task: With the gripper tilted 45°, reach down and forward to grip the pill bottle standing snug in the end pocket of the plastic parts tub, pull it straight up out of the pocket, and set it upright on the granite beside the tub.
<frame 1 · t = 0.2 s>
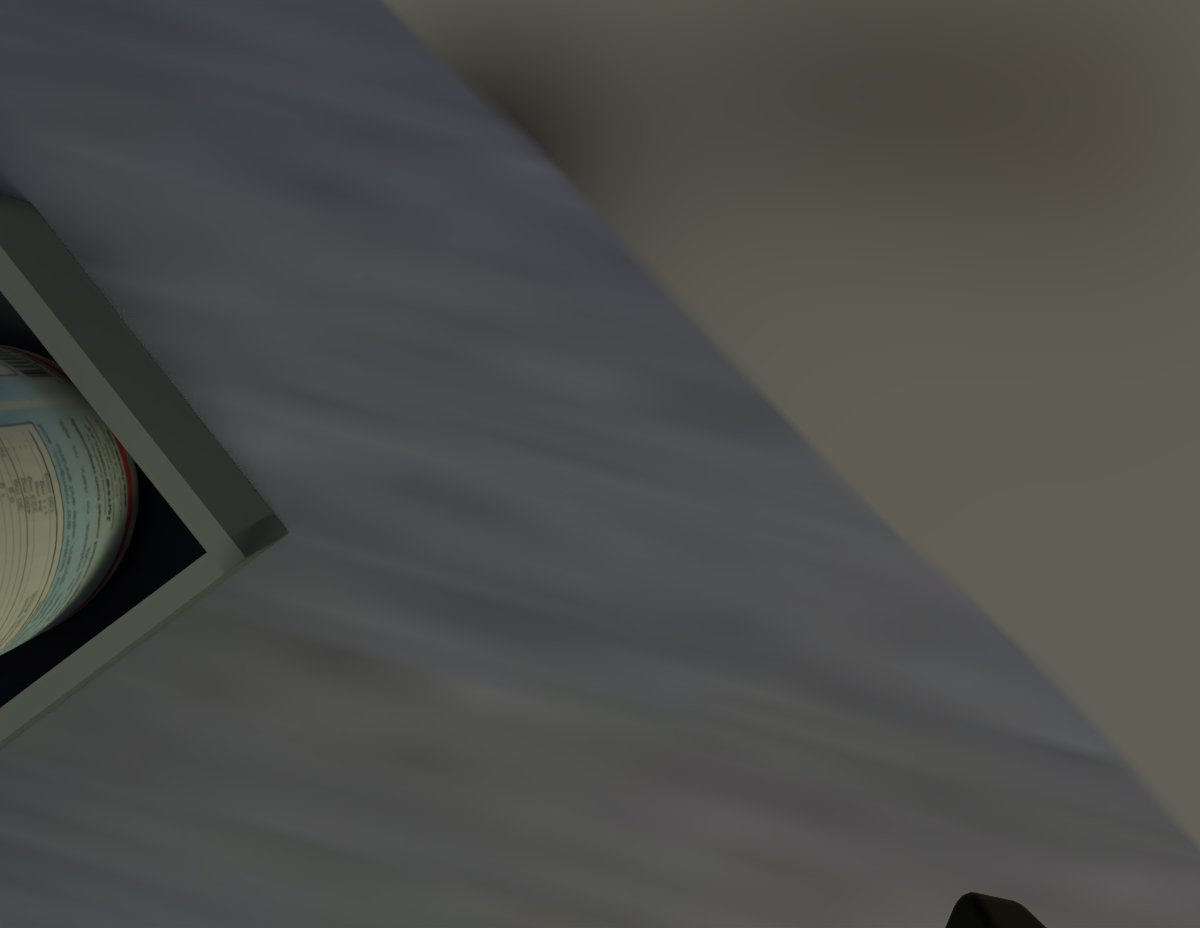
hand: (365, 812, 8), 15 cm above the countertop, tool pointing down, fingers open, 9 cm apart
pill bottle: (7, 490, 24), resting in parts tub
parts tub: (2, 492, 24), on the countertop
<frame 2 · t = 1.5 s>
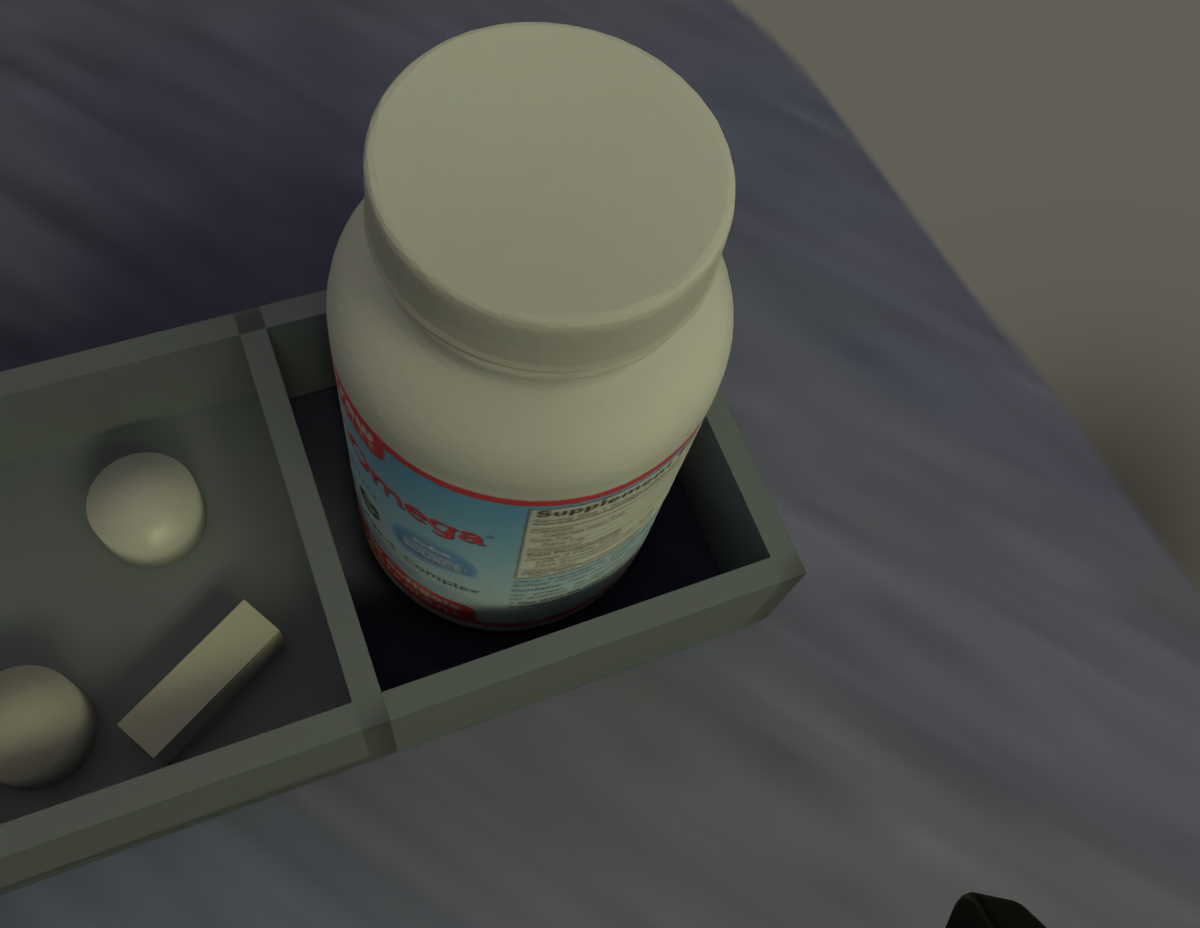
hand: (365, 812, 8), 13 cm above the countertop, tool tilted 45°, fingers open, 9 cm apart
pill bottle: (506, 504, 24), resting in parts tub
parts tub: (507, 500, 24), on the countertop
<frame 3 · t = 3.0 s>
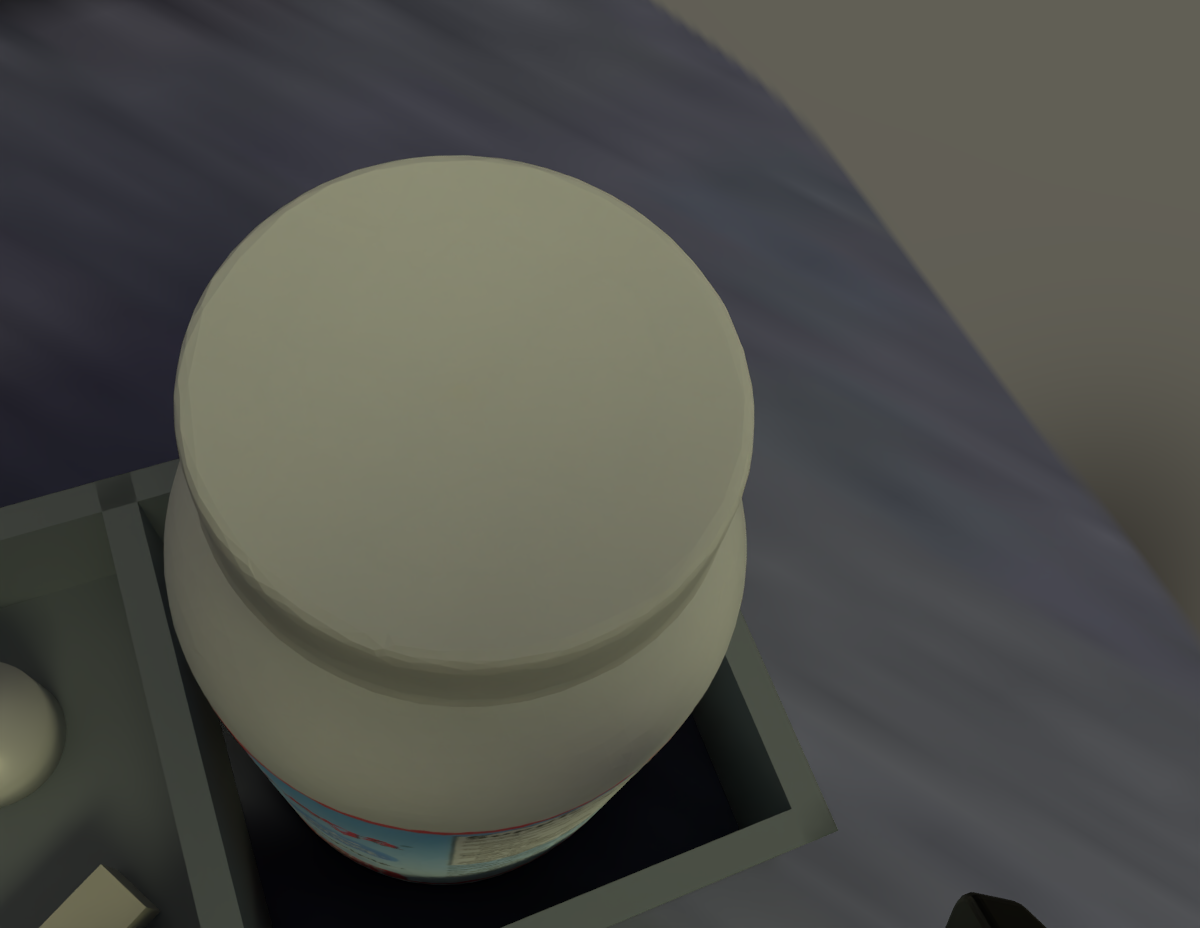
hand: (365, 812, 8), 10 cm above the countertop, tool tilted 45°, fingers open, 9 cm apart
pill bottle: (455, 702, 19), resting in parts tub
parts tub: (455, 699, 19), on the countertop
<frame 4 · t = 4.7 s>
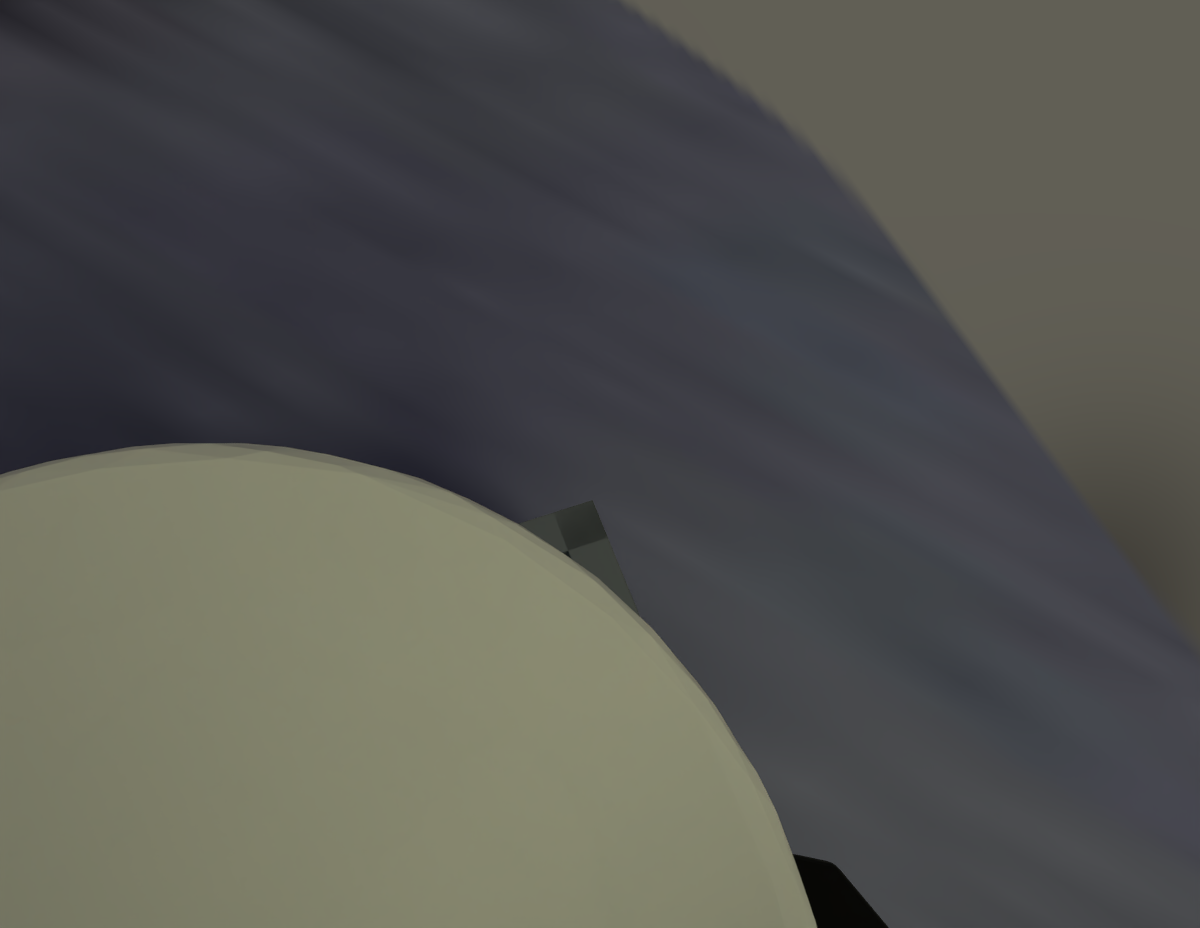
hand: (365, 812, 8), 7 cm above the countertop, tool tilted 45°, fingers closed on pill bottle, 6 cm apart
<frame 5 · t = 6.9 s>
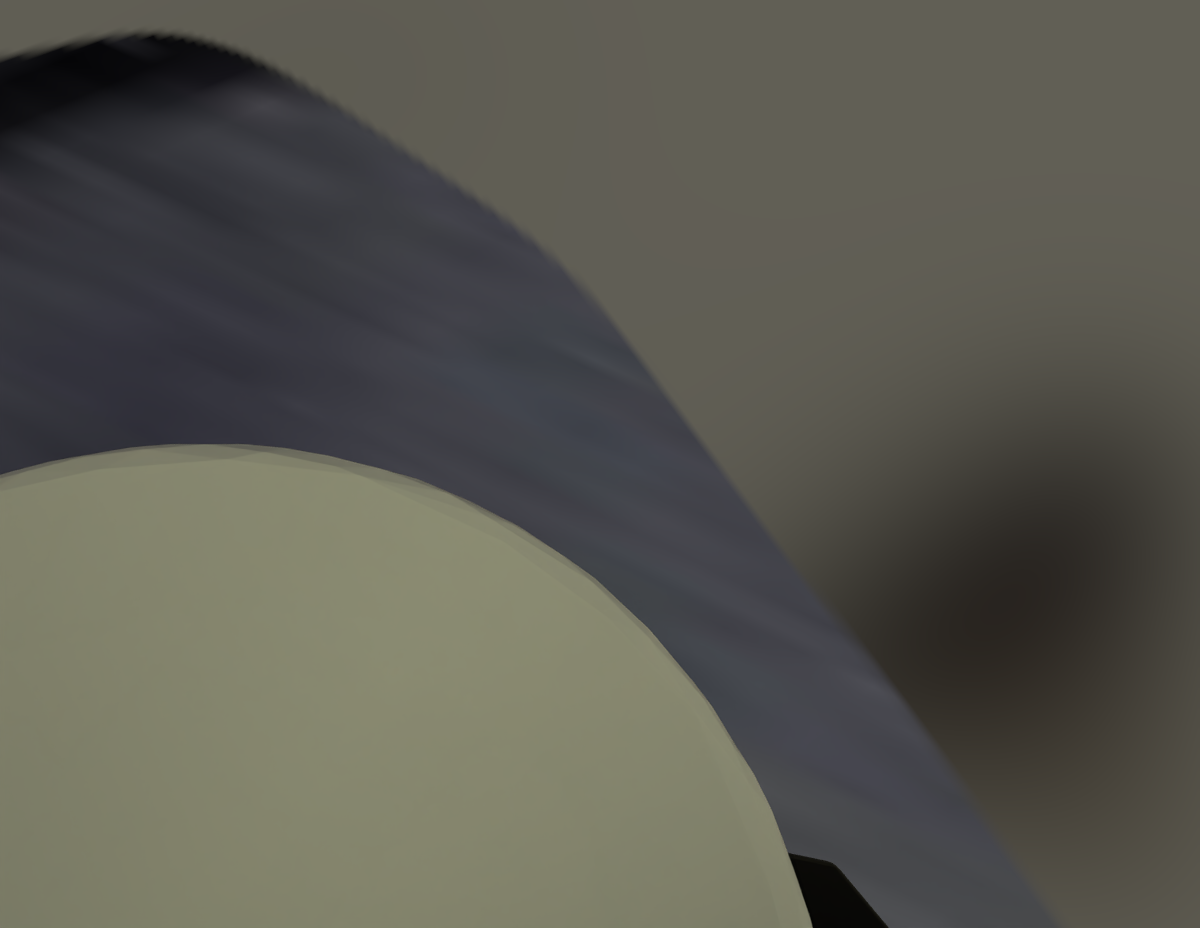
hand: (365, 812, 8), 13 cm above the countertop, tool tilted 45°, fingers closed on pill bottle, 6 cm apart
when the fingers open (8 cm above the countertop, at t = 9.3 s): pill bottle drops 1 cm, on the countertop.
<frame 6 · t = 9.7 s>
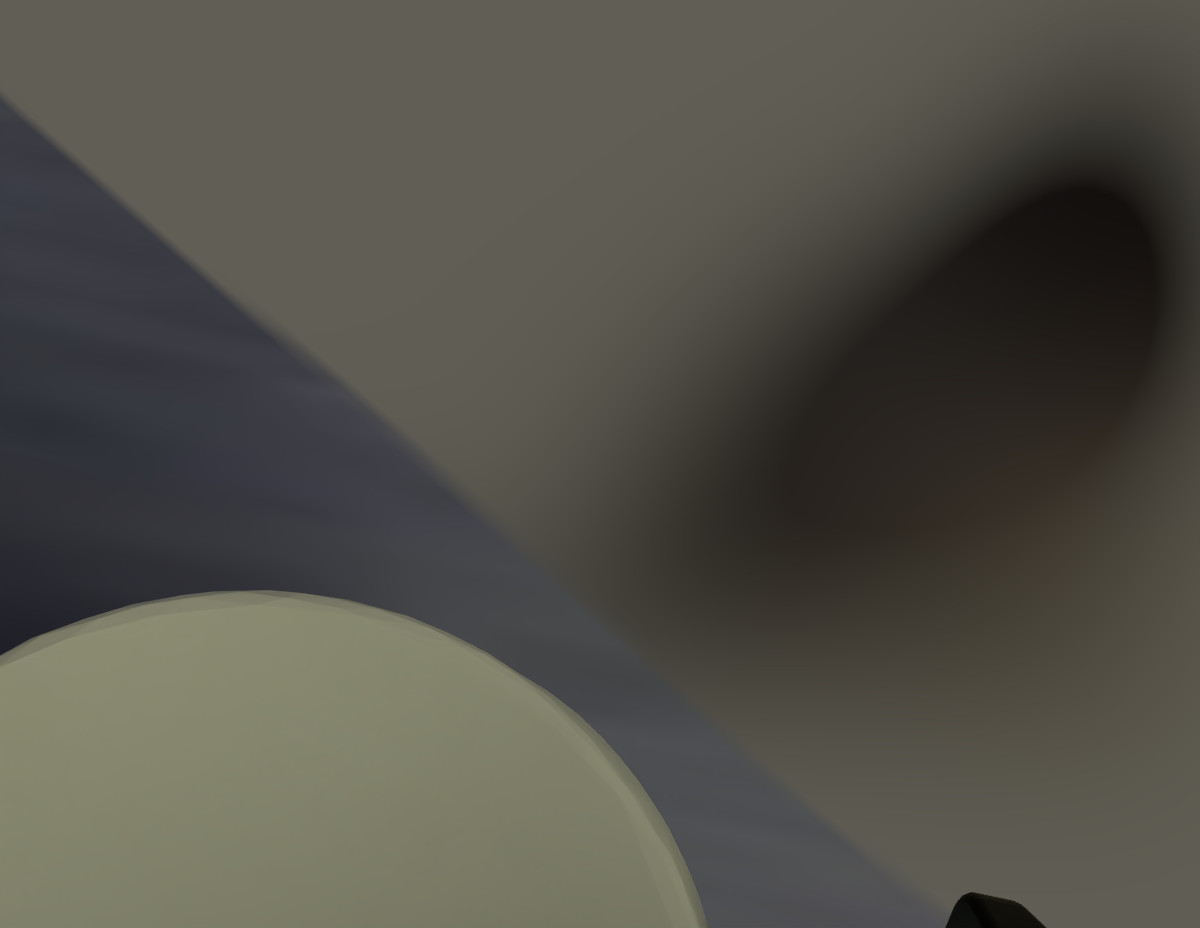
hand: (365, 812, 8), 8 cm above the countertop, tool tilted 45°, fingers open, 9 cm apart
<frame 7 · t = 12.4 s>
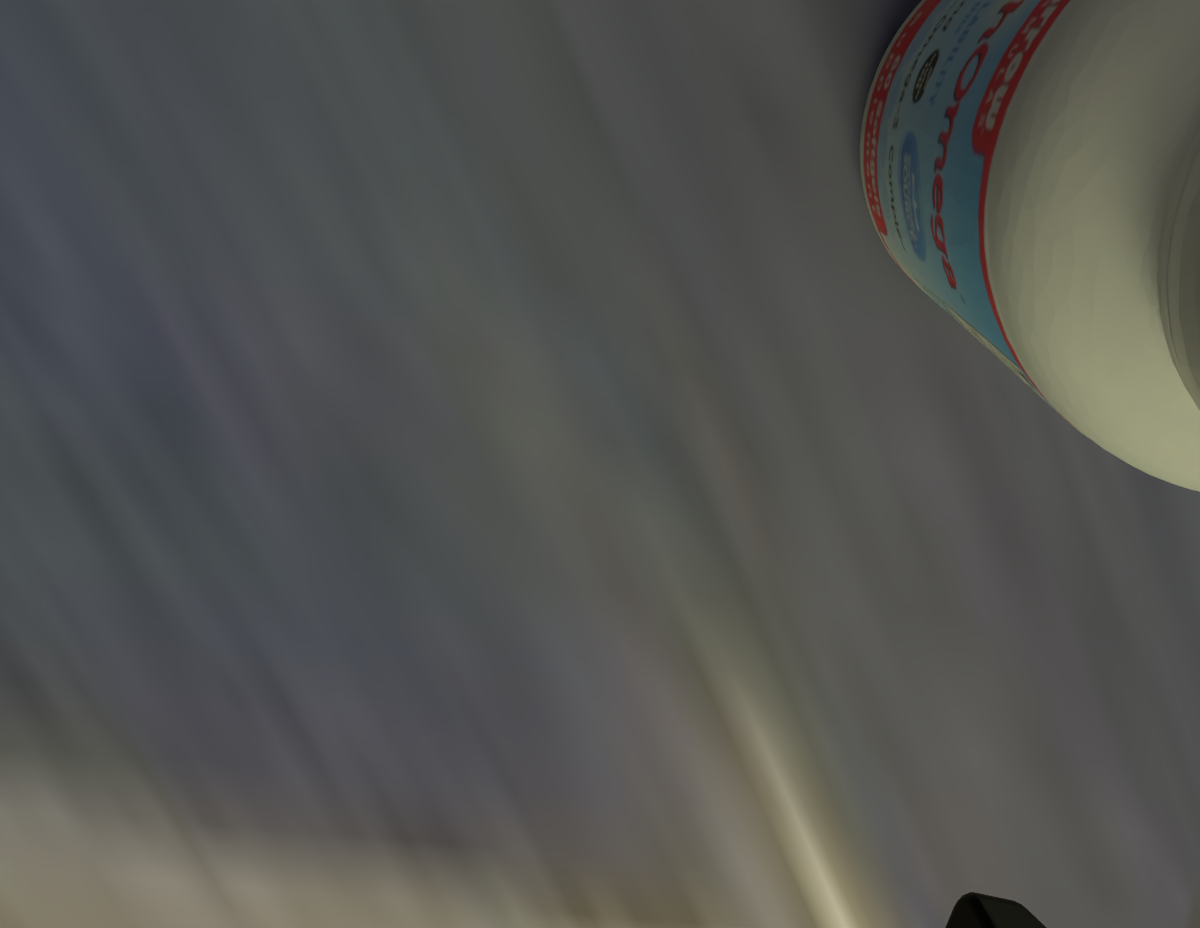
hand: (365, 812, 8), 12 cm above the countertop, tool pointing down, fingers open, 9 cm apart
pill bottle: (1039, 138, 18), on the countertop
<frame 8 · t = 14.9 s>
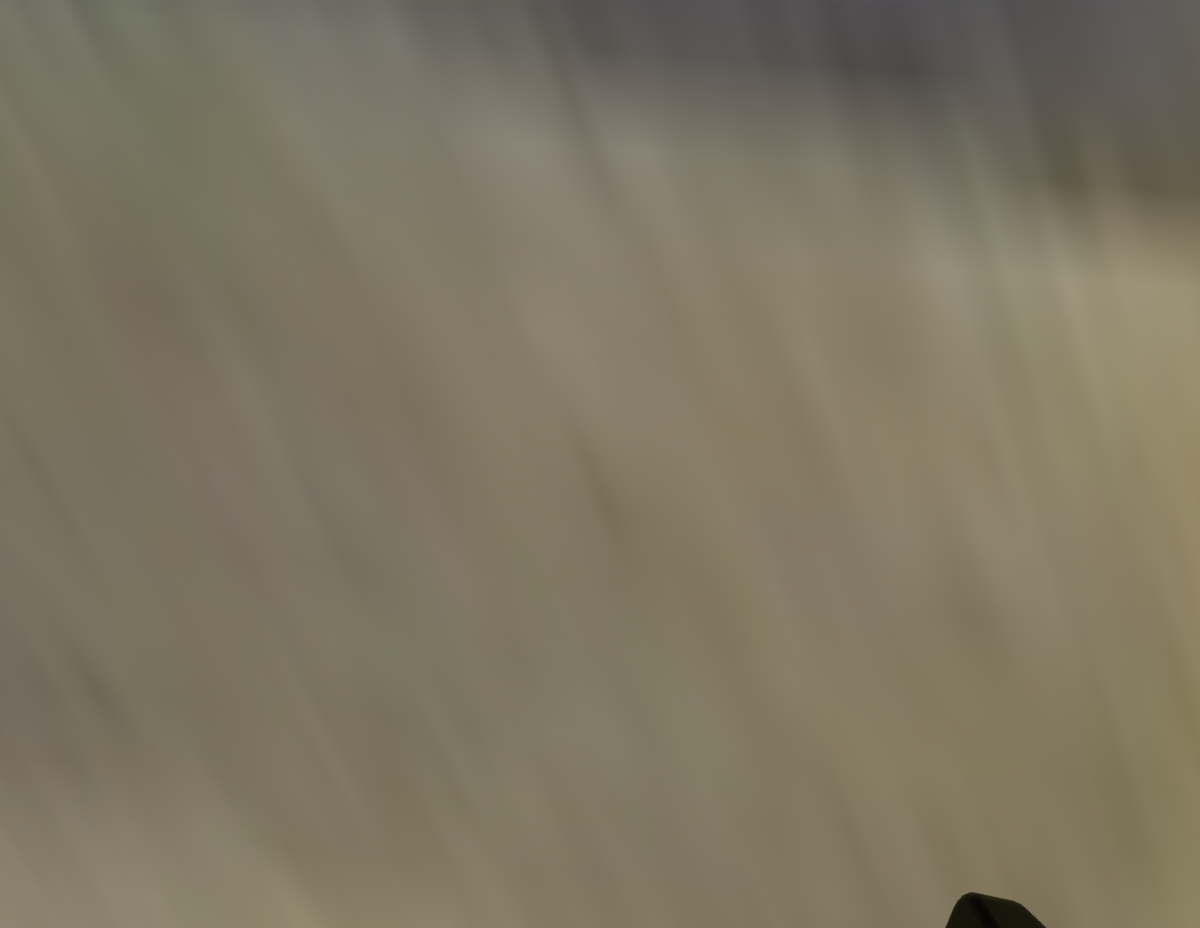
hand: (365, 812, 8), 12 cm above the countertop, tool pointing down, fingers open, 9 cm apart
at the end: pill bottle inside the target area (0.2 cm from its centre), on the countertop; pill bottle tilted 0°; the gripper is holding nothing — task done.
